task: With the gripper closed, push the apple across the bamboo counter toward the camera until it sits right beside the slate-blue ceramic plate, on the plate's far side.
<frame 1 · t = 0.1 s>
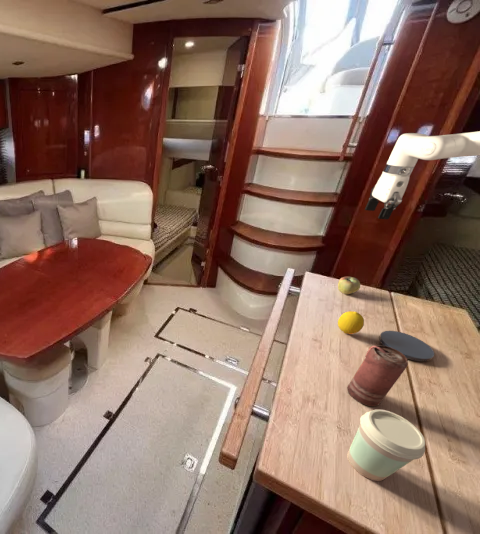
hand: (376, 214, 120), 20 cm above the table, tool pointing down, fingers open, 9 cm apart
coffee cup: (365, 465, 60), on the table
lemon: (344, 333, 91), on the table
can: (361, 396, 73), on the table
plate: (403, 347, 86), on the table
apple: (345, 292, 110), on the table
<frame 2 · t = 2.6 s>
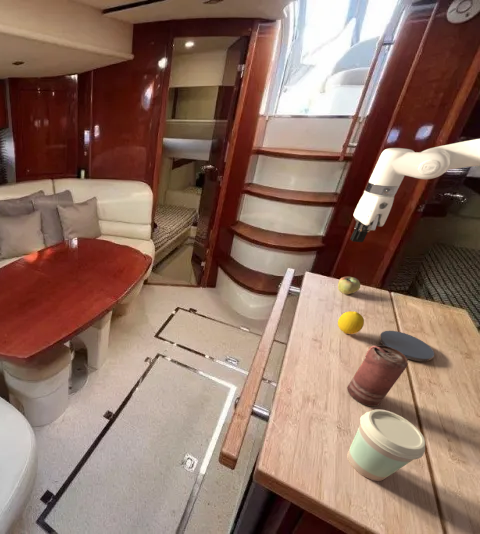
hand: (356, 240, 107), 17 cm above the table, tool pointing down, fingers closed
nothing on the table moved.
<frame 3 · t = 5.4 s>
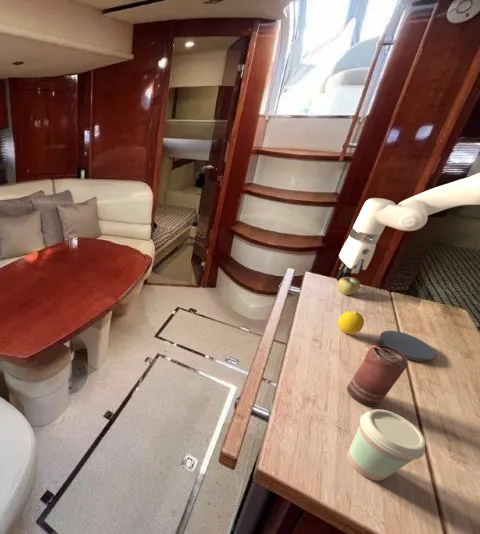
hand: (341, 280, 112), 2 cm above the table, tool pointing down, fingers closed
apple: (345, 292, 110), on the table, touching gripper
everything else where it was.
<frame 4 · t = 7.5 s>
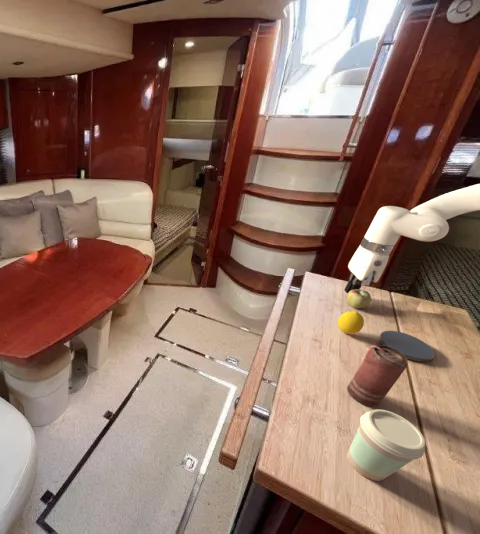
hand: (350, 292, 106), 2 cm above the table, tool pointing down, fingers closed
apple: (354, 305, 103), on the table, touching gripper
everything else where it was.
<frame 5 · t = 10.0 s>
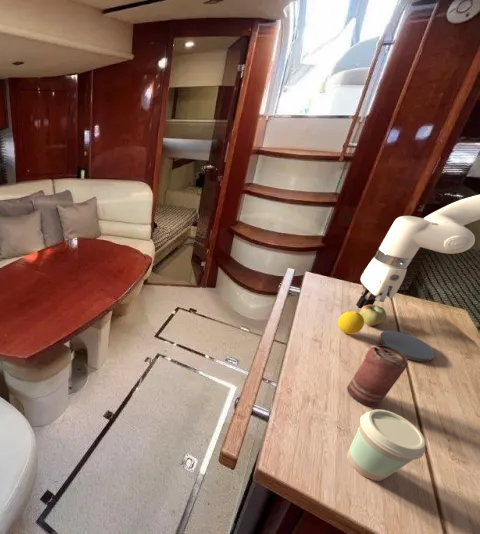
hand: (362, 307, 99), 2 cm above the table, tool pointing down, fingers closed
apple: (368, 322, 96), on the table, touching gripper
everything else where it was.
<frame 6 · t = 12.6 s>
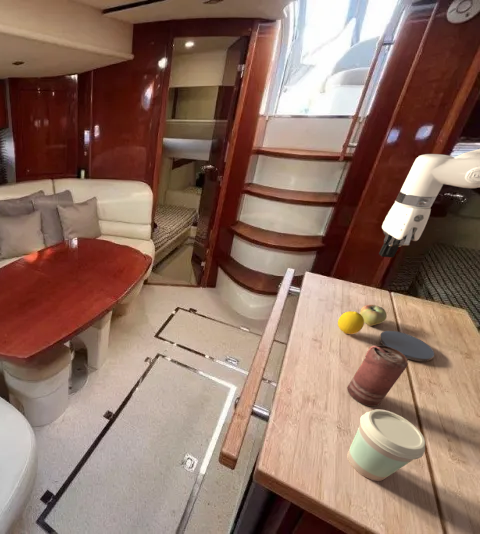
hand: (385, 255, 97), 17 cm above the table, tool pointing down, fingers closed
apple: (368, 322, 96), on the table
everything else where it was.
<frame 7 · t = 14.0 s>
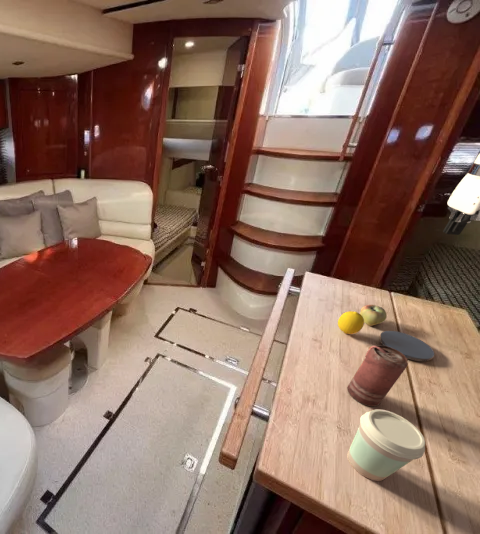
hand: (450, 233, 92), 25 cm above the table, tool pointing down, fingers closed
nothing on the table moved.
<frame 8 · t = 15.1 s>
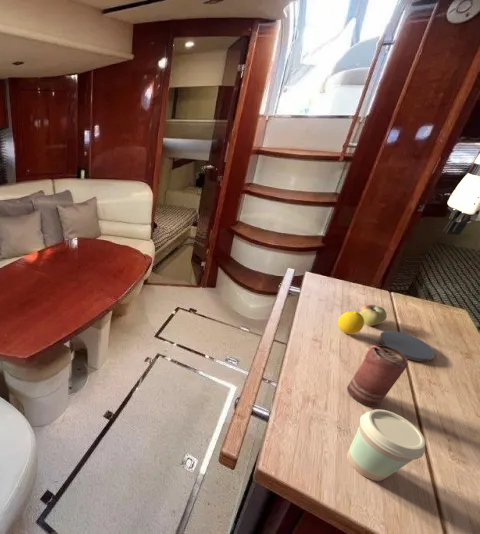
hand: (451, 233, 92), 25 cm above the table, tool pointing down, fingers closed
nothing on the table moved.
at the end: apple inside the target area on the table beside the plate (1.7 cm from its centre), on the table; apple moved 17.3 cm from its start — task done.
